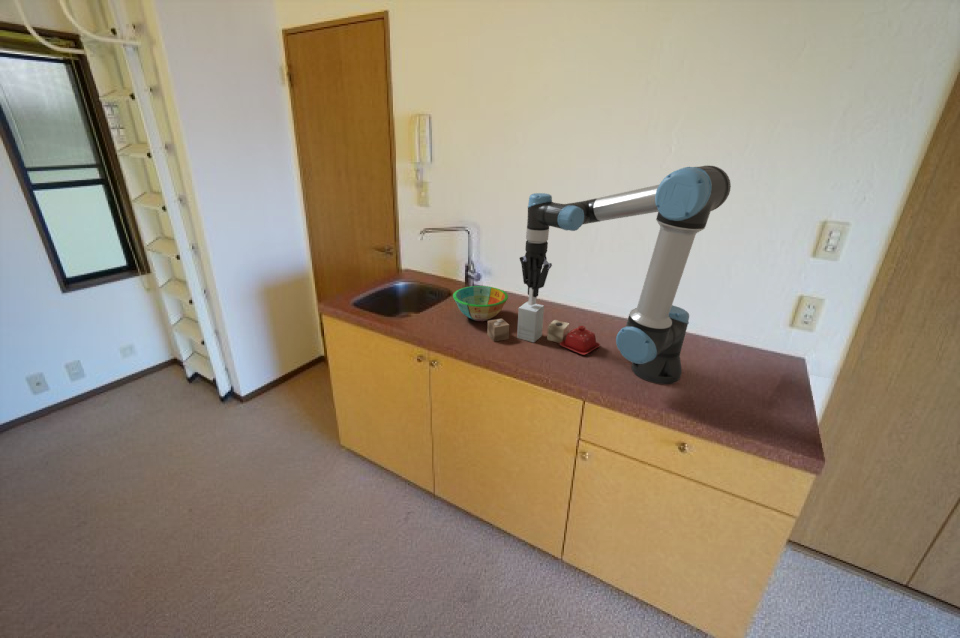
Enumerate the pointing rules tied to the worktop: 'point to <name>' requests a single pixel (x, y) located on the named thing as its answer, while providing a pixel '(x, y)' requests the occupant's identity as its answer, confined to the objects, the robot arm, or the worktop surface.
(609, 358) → the worktop surface
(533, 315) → the supplement box
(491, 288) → the bowl
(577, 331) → the butter dish
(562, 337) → the beech block marked
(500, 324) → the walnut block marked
